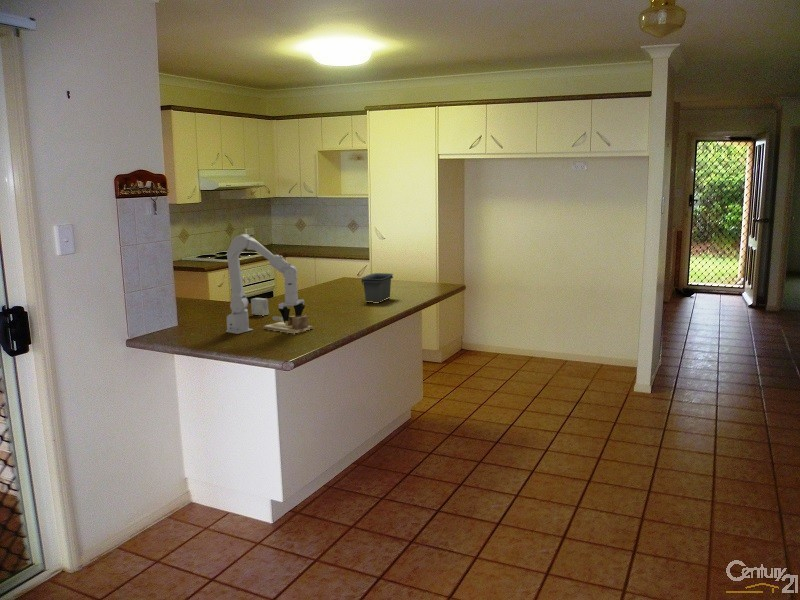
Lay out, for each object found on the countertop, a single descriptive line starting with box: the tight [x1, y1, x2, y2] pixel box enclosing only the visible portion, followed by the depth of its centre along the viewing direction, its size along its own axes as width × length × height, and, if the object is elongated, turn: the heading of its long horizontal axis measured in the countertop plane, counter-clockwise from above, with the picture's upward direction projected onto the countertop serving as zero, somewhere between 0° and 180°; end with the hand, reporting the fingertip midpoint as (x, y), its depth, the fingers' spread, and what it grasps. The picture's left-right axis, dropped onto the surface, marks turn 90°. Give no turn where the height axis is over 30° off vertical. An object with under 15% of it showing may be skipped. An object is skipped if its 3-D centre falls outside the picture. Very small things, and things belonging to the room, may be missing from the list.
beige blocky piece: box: [262, 314, 314, 335], centre depth 308 cm, size 12×20×7 cm, turn 54°
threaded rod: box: [271, 315, 284, 322], centre depth 308 cm, size 2×16×2 cm, turn 54°
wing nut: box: [285, 314, 302, 328], centre depth 305 cm, size 11×3×5 cm, turn 144°
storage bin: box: [360, 272, 394, 302], centre depth 377 cm, size 21×16×14 cm
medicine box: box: [250, 297, 270, 317], centre depth 341 cm, size 8×4×9 cm, turn 59°
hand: (292, 321), depth 306 cm, fingers open, 7 cm apart
